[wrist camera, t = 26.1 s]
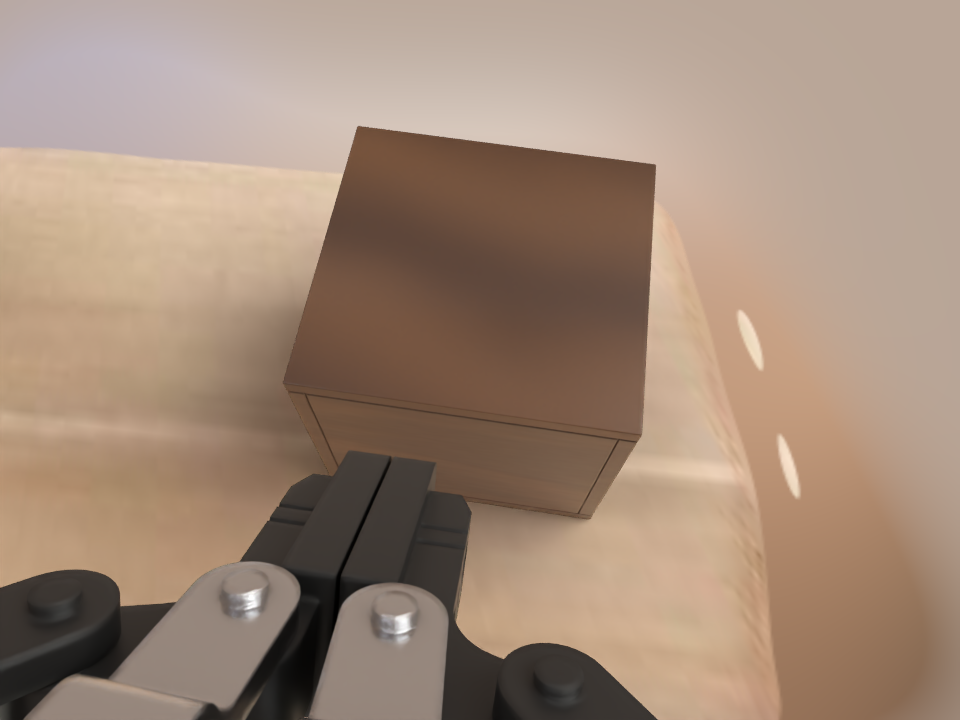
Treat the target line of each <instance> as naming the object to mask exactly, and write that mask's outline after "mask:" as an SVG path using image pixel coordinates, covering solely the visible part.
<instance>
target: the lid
mask: <svg viewBox="0 0 960 720" xmlns="http://www.w3.org/2000/svg"><path fill="white" fill-rule="evenodd" d="M655 175H656V165H655V164H646V163H639V162H631V161H624V160H615V159H608V158H601V157H593V156H584V155H578V154H570V153H562V152H554V151H546V150H539V149H531V148H524V147H516V146H508V145H500V144H493V143H485V142H477V141H469V140H462V139H453V138H446V137H439V136H431V135H423V134H415V133H408V132H400V131H392V130H385V129H377V128H369V127H361V126H358V127H357V130H356V133H355V137H354V140H353V144H352V148H351V151H350V154H349V157H348V161H347V164H346V168H345V171H344V175H343V178H342V181H341V185H340V188H339V192H338V195H337V199H336V202H335V206H334V209H333V212H332V216H331V219H330V223H329V226H328V230H327V233H326V236H325V240H324V243H323V247H322V250H321V254H320V257H319V260H318V264H317V267H316V271H315V274H314V278H313V281H312V284H311V288H310V291H309V295H308V298H307V302H306V305H305V309H304V312H303V315H302V319H301V322H300V326H299V329H298V333H297V336H296V339H295V343H294V346H293V350H292V353H291V357H290V360H289V363H288V367H287V370H286V374H285V377H284V381H283V384H284V386H285V388H286V390H287V391H293V392H300V393H306V394H313V395H320V396H327V397H334V398H341V399H348V400H355V401H362V402H368V403H375V404H382V405H389V406H396V407H403V408H410V409H417V410H424V411H430V412H437V413H444V414H451V415H458V416H465V417H472V418H479V419H485V420H492V421H499V422H506V423H513V424H520V425H527V426H534V427H541V428H547V429H554V430H561V431H568V432H575V433H582V434H589V435H596V436H603V437H609V438H616V439H623V440H630V441H638V440H639V439H640V437H641V436H642V425H643V406H644V386H645V367H646V348H647V329H648V309H649V290H650V271H651V252H652V232H653V213H654V193H655Z"/></svg>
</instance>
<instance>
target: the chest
mask: <svg viewBox="0 0 960 720" xmlns="http://www.w3.org/2000/svg"><path fill="white" fill-rule="evenodd" d="M288 394H289V396H290V398H291V400H292V402H293V404H294V406H295V408H296V410H297V411H298V413H299V415H300V417H301V419H302V421H303V423H304V425H305V427H306V429H307V431H308V433H309V435H310V437H311V439H312V441H313V443H314V445H315V447H316V449H317V451H318V453H319V455H320V457H321V459H322V461H323V463H324V465H325V467H326V469H327V471H328V473H329V475H330V476H334V474H335V472H336V471H337V469H338V467H339V466H340V464H341V462H342V460H343V459H344V457H345V455H346V454H347V452H348V451H349V450H353V451H360V452H367V453H374V454H381V455H388V456H392V460H393V458H394V457H395V456H396V457H403V458H409V459H416V460H423V461H430V462H436V463H437V472H436V482H435V491H437V492H444V493H451V494H458V495H462V496H463V498H464V500H465V501H472V502H478V503H485V504H492V505H498V506H505V507H512V508H518V509H525V510H532V511H538V512H545V513H552V514H558V515H565V516H572V517H578V518H585V519H590V518H591V517H592V515H593V513H594V512H595V510H596V508H597V507H598V505H599V503H600V502H601V500H602V499H603V497H604V495H605V494H606V492H607V490H608V489H609V487H610V486H611V484H612V482H613V481H614V479H615V477H616V476H617V474H618V473H619V471H620V469H621V468H622V466H623V465H624V463H625V461H626V460H627V458H628V456H629V455H630V453H631V452H632V450H633V448H634V447H635V445H636V443H637V442H638V441H630V440H623V439H616V438H609V437H603V436H596V435H589V434H582V433H575V432H568V431H561V430H554V429H547V428H541V427H534V426H527V425H520V424H513V423H506V422H499V421H492V420H485V419H479V418H472V417H465V416H458V415H451V414H444V413H437V412H430V411H424V410H417V409H410V408H403V407H396V406H389V405H382V404H375V403H368V402H362V401H355V400H348V399H341V398H334V397H327V396H320V395H313V394H306V393H300V392H293V391H288Z"/></svg>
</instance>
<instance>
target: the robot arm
mask: <svg viewBox="0 0 960 720" xmlns="http://www.w3.org/2000/svg"><path fill="white" fill-rule="evenodd" d="M436 472H437V463H436V462H430V461H423V460H416V459H409V458H403V457H396V456H395V457H394V458H393V460H392V456H388V455H381V454H374V453H367V452H360V451H353V450H349V451H348V452H347V454H346V455H345V457H344V459H343V460H342V462H341V464H340V466H339V467H338V469H337V471H336V472H335V474H334V476H327V475H320V474H312V475H310V476H308V477H307V478H305V479H303V480H301V481H300V482H298V483H296V484H295V485H293V486H291V488H290V489H289V490H288V492H287V493H286V495H285V496H284V498H283V499H282V501H281V502H280V505H279V507H277V508H276V509H275V511H274V512H273V514H272V515H271V517H270V521H267V523H266V524H265V525H264V527H263V528H262V530H261V531H260V533H259V534H258V536H257V537H256V539H255V540H254V541H253V543H252V544H251V546H250V547H249V549H248V550H247V552H246V553H245V555H244V556H243V558H242V559H241V560H240V562H237V563H231V564H227V565H223V566H220V567H218V568H215V569H213V570H211V571H209V572H207V573H205V574H204V575H202V576H201V577H200V578H198V579H197V580H196V581H195V582H194V583H193V584H192V586H191V587H190V588H189V589H188V590H187V591H186V592H185V593H184V594H183V596H182V597H181V598H180V599H179V600H178V601H177V602H174V603H165V604H151V605H136V606H121V607H120V592H119V588H118V586H117V584H116V583H115V582H114V581H113V580H112V579H111V578H109V577H107V576H105V575H103V574H100V573H98V572H93V571H88V570H62V571H55V572H50V573H45V574H41V575H38V576H35V577H32V578H29V579H26V580H23V581H20V582H17V583H14V584H11V585H8V586H5V587H2V588H0V720H657V719H656V718H655V717H654V716H653V715H652V714H651V713H650V712H649V711H648V710H647V709H646V708H645V707H644V706H643V705H642V704H641V703H640V702H639V701H638V700H637V699H636V698H635V697H633V696H632V695H631V694H630V693H629V692H628V691H627V690H626V689H625V688H624V687H623V686H622V685H621V684H620V683H619V682H618V681H617V680H616V679H615V678H614V677H613V676H612V675H611V674H610V673H609V672H607V671H606V670H605V669H604V668H603V667H602V666H601V665H600V664H599V663H598V662H596V661H595V660H594V659H593V658H591V657H589V656H588V655H586V654H584V653H582V652H580V651H578V650H576V649H573V648H570V647H568V646H563V645H559V644H552V643H537V644H530V645H526V646H523V647H520V648H518V649H516V650H514V651H513V652H511V653H510V654H508V656H507V657H506V658H505V659H501V658H499V657H496V656H494V655H492V654H490V653H487V652H485V651H483V650H482V649H480V648H478V647H477V646H475V645H474V644H473V643H471V642H470V641H469V640H468V639H467V638H466V637H465V636H464V635H463V634H462V633H461V631H460V630H459V628H458V627H457V624H456V618H457V612H458V607H459V602H460V596H461V590H462V583H463V575H464V567H465V559H466V552H467V544H468V536H469V528H470V520H471V511H470V509H469V507H468V505H467V503H466V502H465V500H464V498H463V496H462V495H458V494H451V493H444V492H437V491H435V482H436ZM304 717H308V718H304Z"/></svg>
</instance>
